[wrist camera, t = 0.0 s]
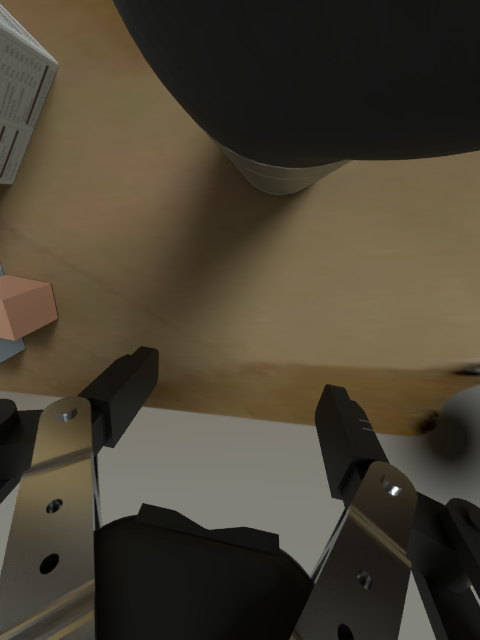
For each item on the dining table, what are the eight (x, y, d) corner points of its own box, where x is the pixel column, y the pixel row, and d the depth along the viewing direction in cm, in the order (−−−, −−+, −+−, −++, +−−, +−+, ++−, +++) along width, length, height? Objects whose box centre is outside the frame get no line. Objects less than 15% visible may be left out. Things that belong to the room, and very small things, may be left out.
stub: (6, 274, 30) (-54, 290, 25) (50, 283, 30) (0, 300, 24) (16, 310, 32) (-37, 331, 27) (58, 318, 32) (13, 341, 27)
